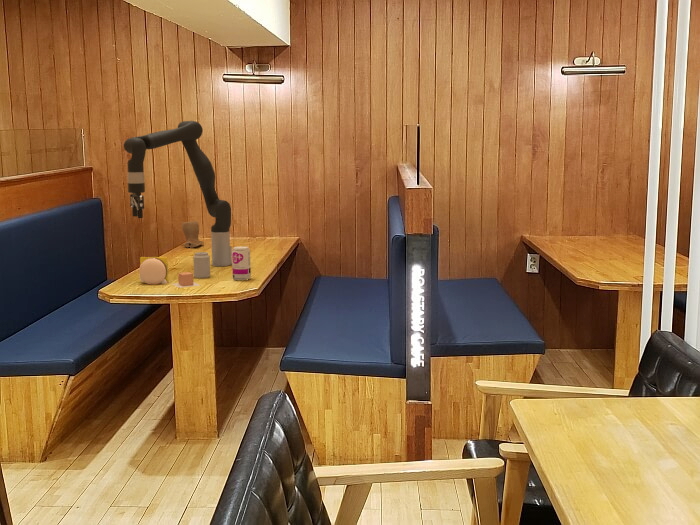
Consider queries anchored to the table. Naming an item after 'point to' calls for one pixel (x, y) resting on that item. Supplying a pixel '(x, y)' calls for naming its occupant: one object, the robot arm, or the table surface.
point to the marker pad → (185, 286)
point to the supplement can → (241, 263)
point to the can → (201, 265)
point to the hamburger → (153, 270)
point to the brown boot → (191, 234)
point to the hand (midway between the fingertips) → (137, 217)
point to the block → (185, 279)
